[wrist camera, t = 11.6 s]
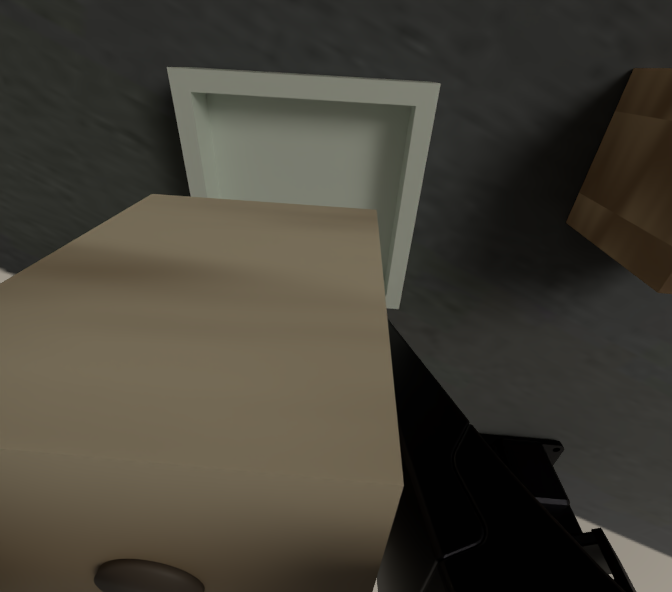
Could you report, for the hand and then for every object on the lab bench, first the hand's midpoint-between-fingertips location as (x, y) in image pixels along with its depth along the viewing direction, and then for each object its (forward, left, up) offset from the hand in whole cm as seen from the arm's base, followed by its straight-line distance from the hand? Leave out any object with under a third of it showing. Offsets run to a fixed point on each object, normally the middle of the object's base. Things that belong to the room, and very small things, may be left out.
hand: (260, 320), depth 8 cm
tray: (0, 0, -10) cm, 10 cm away
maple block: (0, 0, -1) cm, 1 cm away
